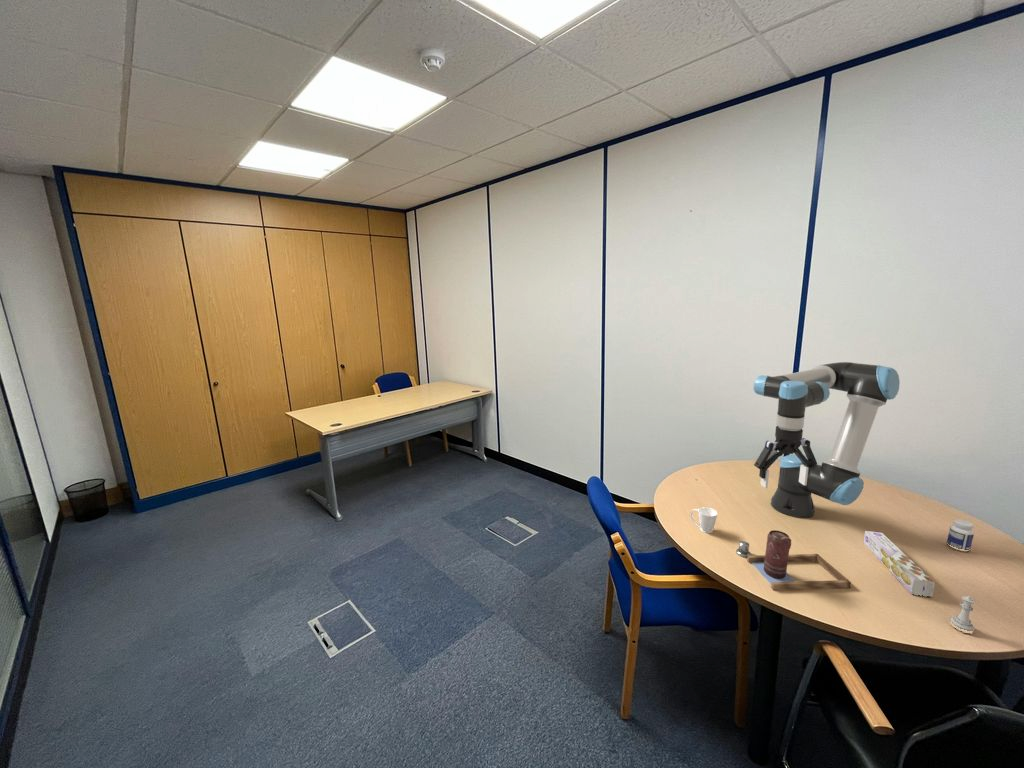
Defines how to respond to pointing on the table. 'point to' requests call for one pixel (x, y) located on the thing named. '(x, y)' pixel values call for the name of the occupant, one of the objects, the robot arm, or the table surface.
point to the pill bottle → (961, 534)
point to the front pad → (770, 579)
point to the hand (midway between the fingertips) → (783, 485)
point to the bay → (838, 583)
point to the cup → (705, 519)
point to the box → (899, 564)
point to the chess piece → (964, 615)
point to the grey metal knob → (743, 549)
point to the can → (777, 554)
